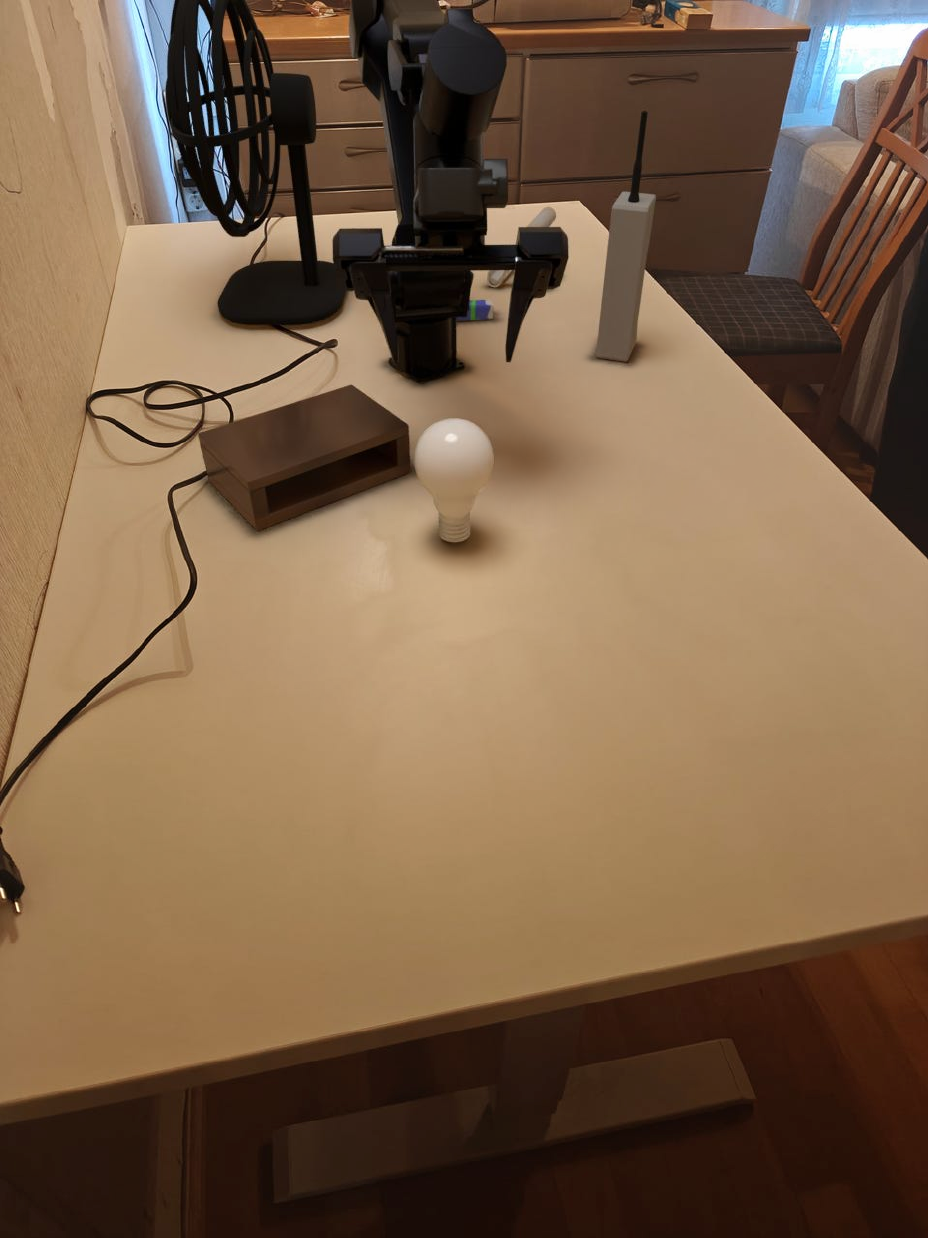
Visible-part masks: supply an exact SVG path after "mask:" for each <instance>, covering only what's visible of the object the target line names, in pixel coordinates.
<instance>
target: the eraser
mask: <svg viewBox="0 0 928 1238" xmlns="http://www.w3.org/2000/svg"><path fill="white" fill-rule="evenodd" d="M494 310H495V304H494V302H493V300H492V299H490V298H489V299H488V298H487V299H470V302H469V311H468V312H467V317H465V318H462V317H457V322H460V321H485V320H486V321H487V320H493V319H494V313H495V311H494Z"/></svg>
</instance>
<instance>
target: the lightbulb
mask: <svg viewBox="0 0 928 1238" xmlns="http://www.w3.org/2000/svg"><path fill="white" fill-rule="evenodd" d="M413 465H414V470H415V473H416V475H417V478H418V480H419V482H420V483H421V484H422V486H423V487H424V488H425V489H426V491H427V492H428V493H429V494H430V495H431V497H432V500H433V504H434V507H435V510H436V511H437V516H438V535H439V537H440V538H441V539H442V540H444V542H445V541H446V542H448V543H460V542H463V541H465V540H467V539H468V538H470V536H471V514H472V510H473V509H474V506H475V502H476V498H477V496H478V494H479V493H480V492H481V490H483V488H484V487H485V486H486V485H487V484H488V481H489V480H490V478H491V476H492V474H493V470H494V466H495V453H494V448H493V444H492V442H491V440H490V437H488V434H486V432H485V431H484V430H483V429H482V428H481V427H480V426H479V425H478V424H476V423H474V422H472V421H471V420H468V419H465V418H459V417H449V418H448V417H447V418H444V419H441V420H438V421H435V422H434V423H432V424H431V425H429V426H428V427H427V428H426V429H425V430H424V431H423V432H422V434H421V435H420V437H419V438H418V440H417V442H416V444H415V448H414V452H413Z"/></svg>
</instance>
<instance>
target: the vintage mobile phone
mask: <svg viewBox="0 0 928 1238" xmlns="http://www.w3.org/2000/svg"><path fill="white" fill-rule="evenodd" d="M640 113H641V114H640V122H639V130H638V137H637V146H636V155H635V161H634V164H633V168H632V169H633V171H632V177H631V186H630V191H621V193H620V195H619V196H618V197H617V198H616V200H615V201H614V203H613V204H612V206H611V213H610V220H609V221H610V222H609V231H608V239H607V248H606V249H607V250H606V259H605V268H604V277H603V286H602V296H601V305H600V314H599V315H600V316H599V322H598V323H599V324H598V330H597V331H598V332H597V341H596V349H595V356H596V358H598V359H603V360H611V361H616V362H617V361H618V362H623V363H626V362H628V361H629V359H630V357H631V355H632V352H633V350H634V348H635V346H636V344H637V339H638V323H639V317H640V308H641V302H642V294H643V287H644V279H645V272H646V264H647V257H648V252H649V247H650V243H651V242H650V241H651V234H652V229H653V222H654V214H655V207H656V200H657V196H656V194H653V193H643V192H640V188H641V187H640V186H641V180H642V179H641V178H642V169H643V155H644V154H643V153H644V146H645V145H644V144H645V137H646V129H647V122H648V121H647V120H648V113H649V112H648V111H647V110H643V111H641V112H640Z"/></svg>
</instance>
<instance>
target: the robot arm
mask: <svg viewBox="0 0 928 1238" xmlns="http://www.w3.org/2000/svg"><path fill="white" fill-rule="evenodd" d="M349 5H350V7H349V17H348V36H349V37H348V38H349V46H350V53H351V57H352V59H357V63H358V68H359V74H360V75H359V76H360V80H361V83H362V84H363V85H364V87H365V88H366V89H367V90H368V91H369V92H370V93H371V94H372V96H373V97H374V98H375V99H376V100H377V101H378V102H379V106H380V114H381V119H382V127H383V133H384V141H385V146H386V152H387V159H388V165H389V173H390V180H391V185H392V193H393V198H394V205H395V211H396V219H397V225H396V229H395V231H394V235H393V237H392V240H391V244H390V245H385V241H384V234H383V228H381V227H372V228H371V227H369V228H368V227H364V228H362V227H361V228H360V227H359V228H356V227H355V228H353V227H351V228H349V227H348V228H347V227H346V228H339V229H338V230H337V232H335V234H334V236H333V237H332V263H334V267H335V270H336V274H337V278H338V281H339V285H340V288H341V289H343V290H346V292H354V296H355V298H356V300H360V301H367V302H368V303H369V305H370V307H371V309H372V311H373V313H374V315H375V317H376V319H377V321H378V323H379V325H380V327H381V330H382V333H383V336H384V339H385V341H386V345H387V348H388V351H389V353H390V356H391V357H389V358H388V364H389V365H390V366H392V367H393V368H395V369H396V370H398V371H400V372H401V373H403V374H404V375H406V376H407V377H409V378H410V379H412V380H413V381H415V382H417V383H425V382H428V381H431V380H434V379H438V378H439V377H443V376H446V375H449V374H452V373H455V372H458V371H461V370H464V369H465V368H466V363H465V362H464V361H462V360H460V359H459V358H457V355H458V351H457V349H458V348H457V347H458V343H457V341H458V340H457V339H458V337H457V334H458V331H457V327H458V324H457V323H458V321H457V317H462V318H465V317H467V312H468V311H469V302H470V300H471V291H472V288H473V287H472V286H473V283H474V278H475V276H474V275H475V274H474V273H473V271H478V272H479V271H489V270H512V271H513V279H512V283H511V290H510V295H509V296H510V297H509V306H508V307H509V308H508V317H507V326H506V337H505V344H504V345H505V346H504V347H505V349H504V350H505V363H511V362H512V360H513V356H514V353H515V349H516V345H517V342H518V338H519V335H520V332H521V328H522V325H523V322H524V320H525V318H526V316H527V314H528V311H529V309H530V307H531V305H532V303H533V300H535V299H542V298H544V297H545V296H546V295H547V290H555V289H557V288H559V287H561V284H562V281H563V277H564V274H565V271H566V267H567V266H568V265H567V264H568V262H569V257H570V256H569V237H568V234H567V233H566V232H565V231H564V230H563V228H562V227H561V226H550V227H527V226H518V229H517V234H516V241H515V244H486V236H487V235H488V209H506V207H507V205H508V202H509V165H508V158H484V145H483V144H484V143H483V142H484V141H483V140H484V139H483V133H485V132H487V131H488V129H489V128H490V125H491V121H492V118H493V114H494V111H495V107H496V104H497V101H498V97H499V93H500V90H501V87H502V84H503V80H504V77H505V73H506V69H507V66H508V65H507V62H508V61H507V58H508V57H507V52H506V51H507V50H506V48H505V46H503V44H502V42H501V41H500V39H499V38H498V37H497V36H496V34H495V33H494V32H493V31H491V30H490V29H489V28H488V27H486V26H484V25H482V24H481V23H479V22H476V21H475V18H474V11H473V8H471V7H460V8H458V7H457V8H446V9H445V11H443V10H442V8H441V6H440V4H439V3H438V0H350V4H349Z"/></svg>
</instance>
